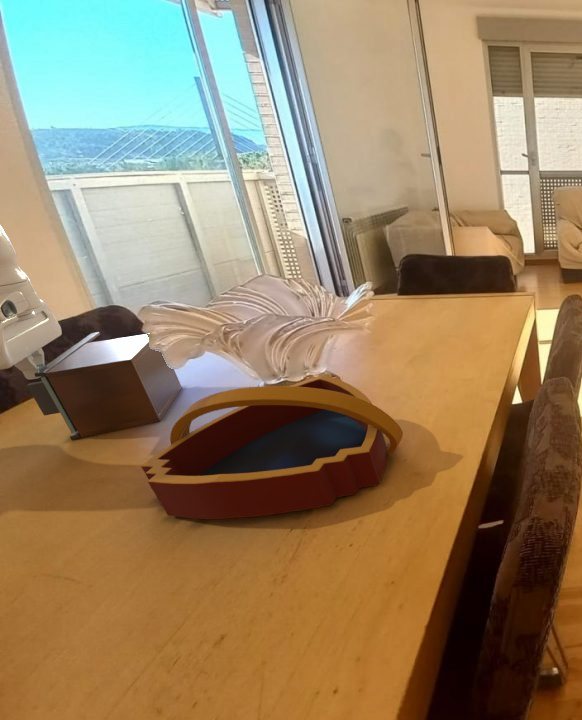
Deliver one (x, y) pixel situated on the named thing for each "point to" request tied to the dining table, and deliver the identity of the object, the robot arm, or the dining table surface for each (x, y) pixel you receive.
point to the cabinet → (112, 384)
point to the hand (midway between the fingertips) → (38, 376)
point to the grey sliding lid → (49, 400)
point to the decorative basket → (273, 451)
